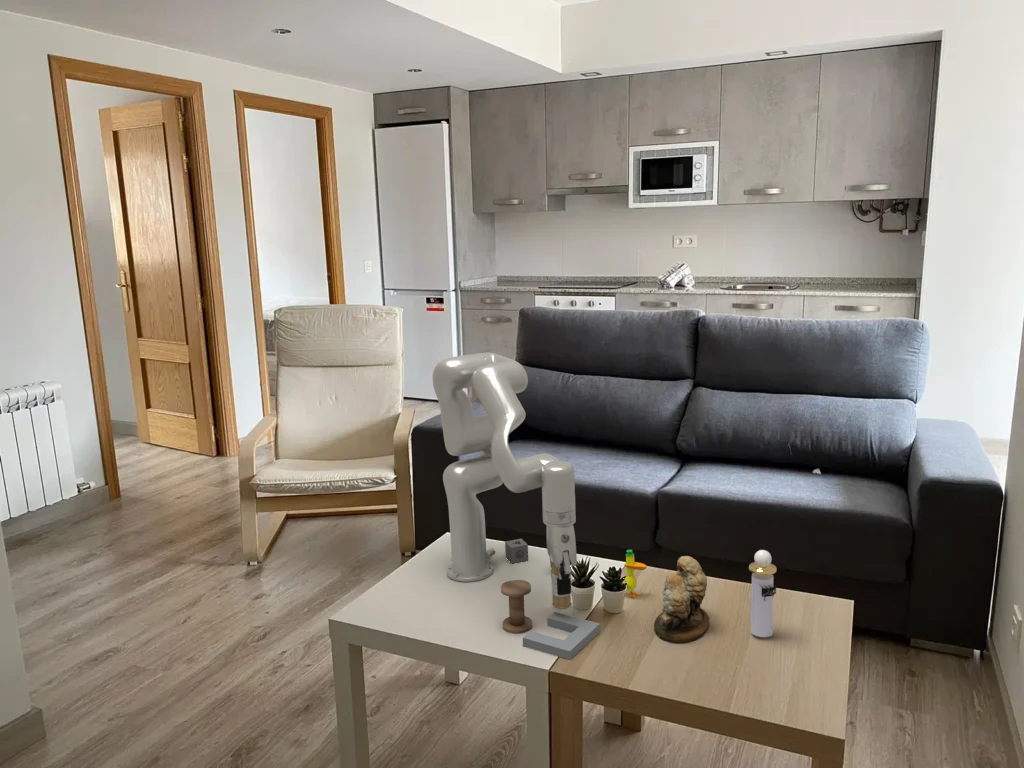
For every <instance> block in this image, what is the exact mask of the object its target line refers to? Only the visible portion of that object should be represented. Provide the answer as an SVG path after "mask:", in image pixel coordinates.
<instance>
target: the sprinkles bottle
mask: <svg viewBox="0 0 1024 768" xmlns="http://www.w3.org/2000/svg"><path fill="white" fill-rule="evenodd" d="M550 560H551V566H550V569H551V568H552V572H551V571H550V572H551V573H550V574H552V579H551V594H552V604H551V606H552V607H553V608H554V609H557V610H567V609H569V608H571V606H572V600H571V599H572V597H571V595H572V593H571V594H566V595H558V594H557V578H558V569H557V567H556V566H555V564H554V563H553V559H552V556H551V554H550V557H549V561H550ZM560 565H564V564H563V563H560ZM562 571H564V568H562V569H561V572H562Z"/></svg>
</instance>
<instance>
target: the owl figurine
mask: <svg viewBox="0 0 1024 768" xmlns="http://www.w3.org/2000/svg"><path fill="white" fill-rule="evenodd" d="M676 566H677V571H676V574H675V573H669V574H667V575H666V576H665V579H664V582H663V583H664V585H663V586H664V587H663V590H662V601H663V604H662V606H663V609H662V612H660V614H658V616H657V617H656V618H655V620H654V623H653V628H654V629H653V630H654V632H655V635H656V636H658V638H659V639H661V640H662V641H665V642H668V643H671V644H676V645H677V644H679V645H680V644H682V645H683V644H690V643H693V642H695V641H698V640H699V639H700V638H702V637H704V635H705V634H706V633H707V631H708V629H709V627H710V617H709V614H708V613H707V612H706V611H705V610H703V608H701V605H702V603H703V601H704V599H705V597H706V591H707V585H708V579H707V575H706V574H705V572H704V571H703V569H702V567H701V564H700V563H699V562H698V561H697V560H696V559H694V558H693V557H692V556H689V555H683V556H682V555H681V556H680V557H679V558H678V560H677V564H676Z"/></svg>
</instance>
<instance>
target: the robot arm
mask: <svg viewBox="0 0 1024 768" xmlns="http://www.w3.org/2000/svg"><path fill="white" fill-rule="evenodd" d="M525 369H526V368H524V366H523V365H522V364H520V362H518V361H516V360H515V359H512V358H509V357H507V356H504V355H500V354H497V353H495V352H489V351H488V352H487V351H486V352H478V353H472V354H462V355H457V356H451V357H448V358H445V359H443V360H440V361H439V362H438V363H437V364H436V365H435V367H434V368H433V372H432V386H433V390H434V393H435V396H436V399H437V401H438V404H439V408H440V409H439V410H440V418H441V419H440V420H441V426H442V433H443V441H444V445H445V450H446V452H447V453H448V454H449V455H451V456H453V457H455V456H456V457H459V456H460V457H461V456H466V455H470V454H474V453H479V455H478V456H473V457H469V458H465V459H460V460H458V461H455V462H452V463H451V464H449V465H448V466H447V467H446V468H445V469H444V471H443V474H442V481H443V486H444V490H445V494H446V495H445V496H446V499H447V505H448V507H447V508H448V519H449V533H450V537H449V538H450V549H451V552H450V553H451V564H450V565H449V566H448V567H447V569H446V576H447V577H448V578H449V579H451V580H454V581H457V582H463V583H464V582H476V581H481V580H483V579H486V578H488V577H490V576H492V574H493V572H494V566H493V564H492V563H490V562H489V559H490V558H491V557H493V556H494V555H495V554H496V550H495V549H494V548H490V549H488V550H487V540H486V539H487V535H486V519H485V509H484V506H483V504H482V503H481V502H480V500H479V499H478V498H477V494H480V493H482V492H486V491H489V490H493V489H497V488H498V487H500V486H502V484H504V486H505V487H506V488H507V489H508V490H509V491H510V492H512V493H516V494H517V493H518V494H520V493H524V492H528V491H531V490H536V489H538V488H541V494H542V495H541V498H542V499H541V501H542V502H541V503H542V504H541V506H542V523H543V524H544V525H546V551H547V554H548V557H549V558H550V554H551V556H552V559H553V563H554V564H555V566H556V567H557V569H558V578H557V594H558V595H566V594H571V595H572V577H571V576H572V575H571V574H572V569H571V567H570V562H571V564H572V565H573V567H576V566H577V565H578V558H577V556H578V555H577V545H576V544H577V543H576V542H577V541H576V535H575V534H576V533H575V528H574V527H575V526H574V524H575V523H576V520H577V519H576V492H575V491H576V490H575V489H576V488H575V485H576V484H575V483H576V482H575V481H576V480H575V468H574V466H573V464H572V463H570V462H569V461H566V460H565V461H564V460H560V459H558V458H557V457H555V456H554V455H552V454H550V453H545V452H544V453H539V454H535V455H532V456H531V455H530V456H527V457H523V458H519V459H516V457H514V454H513V452H512V451H511V448H510V445H509V435H510V434H511V433H512V432H513V431H514V430H515V429H517V428H518V427H519V426H520V425H521V424H522V423H523V422H524V420H526V415H527V414H526V411H525V409H524V407H523V405H522V404H521V403H522V402H520V400H519V399H518V396H517V394H519V393H522V392H524V391H525V390H526V389H527V386H528V384H529V377H528V374H527V371H526V370H525ZM467 388H468V389H469V388H473V390H474V392H475V393H476V396H477V397H478V399H479V401H480V403H481V406H482V408H483V410H484V411H485V413H486V414H482V415H476V416H475V415H474V409H473V403H472V401H471V398H470V397H469V395H468V394H467V393H466V391H465V390H463V389H467ZM560 563H563V564H564V565H560ZM562 568H564V571H562V572H561V569H562ZM550 572H552V569H551V568H550ZM550 574H551V573H550ZM551 580H552V574H551Z"/></svg>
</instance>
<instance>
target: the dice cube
mask: <svg viewBox="0 0 1024 768" xmlns="http://www.w3.org/2000/svg"><path fill="white" fill-rule="evenodd" d="M504 547H505V549H504V550H505V551H504V553H505V558H507V559H508V560H507V559H506V560H507V561H508V562H509V561H510V562H509V563H510V564H511V565H515V563H517V564H521V562H522V563H525V562H526V561H527V562H529V545H528V543H527V542H526V541H524V540H523V538H516V539H513V540H512V539H511V540H507V541H504ZM527 562H526V563H527Z"/></svg>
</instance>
